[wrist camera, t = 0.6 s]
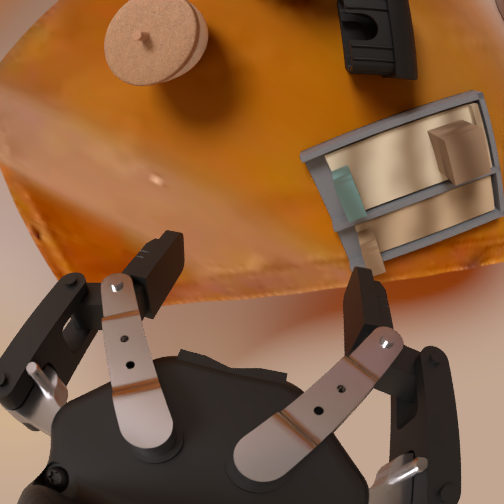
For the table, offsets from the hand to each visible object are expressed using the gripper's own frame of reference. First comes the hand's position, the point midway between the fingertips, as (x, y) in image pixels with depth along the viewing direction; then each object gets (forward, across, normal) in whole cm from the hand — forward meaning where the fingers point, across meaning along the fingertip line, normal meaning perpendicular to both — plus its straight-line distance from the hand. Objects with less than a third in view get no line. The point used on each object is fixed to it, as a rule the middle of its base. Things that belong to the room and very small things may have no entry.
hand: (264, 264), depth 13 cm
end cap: (+24, -7, -15) cm, 29 cm away
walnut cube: (+22, -18, -5) cm, 29 cm away
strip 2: (+24, -18, +4) cm, 30 cm away
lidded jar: (+24, +15, -12) cm, 31 cm away
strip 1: (+24, -14, -2) cm, 27 cm away
